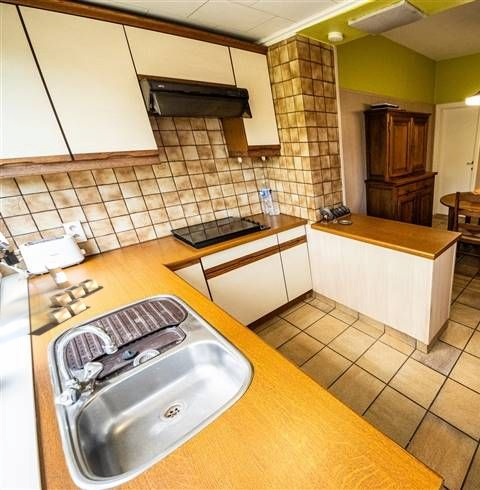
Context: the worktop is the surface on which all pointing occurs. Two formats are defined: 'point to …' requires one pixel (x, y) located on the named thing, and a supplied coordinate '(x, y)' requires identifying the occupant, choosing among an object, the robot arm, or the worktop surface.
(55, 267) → the sprinkles bottle
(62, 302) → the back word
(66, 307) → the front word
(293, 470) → the worktop surface
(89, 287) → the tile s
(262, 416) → the worktop surface
